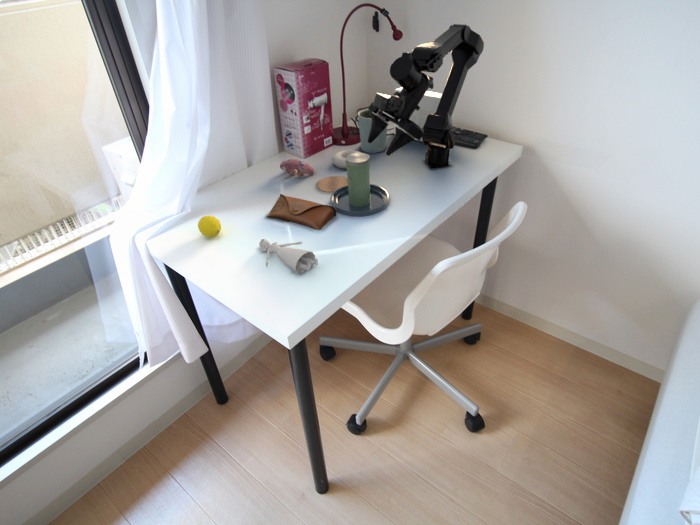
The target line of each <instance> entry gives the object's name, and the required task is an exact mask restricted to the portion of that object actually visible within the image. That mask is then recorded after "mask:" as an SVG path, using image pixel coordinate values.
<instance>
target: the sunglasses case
mask: <svg viewBox="0 0 700 525" xmlns="http://www.w3.org/2000/svg"><path fill="white" fill-rule="evenodd" d="M335 217H337V212H336V209H335V208H334V207H332V206H331V205H328V204H323V203H319V202H316V201H315V202H314V201H311V200H307V199H303V198H299V197H298V198H297V197H293V196H289V195H285V194H282V193H280V194H279V196H278V198H277V200H276V202H275V203H274V204H273V206H272V209H271V210H270V212H269V214H267V215H266V218H270V219H276V220H280V221H284V222H288V223H294V224H297V225H301V226H304V227H308V228H311V229H314V230H318V231H322V230H323V228H324V227H325V226H326V225H327V224H329V223H330V222H331V221H332V220H333V219H334V218H335Z"/></svg>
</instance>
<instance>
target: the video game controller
mask: <svg viewBox="0 0 700 525" xmlns="http://www.w3.org/2000/svg"><path fill="white" fill-rule="evenodd" d="M279 168H280V170H282V171H284V172H286V173H287V174H289V175H290V176H295V175H297V176H299V177H304V176H305V175H310V176H311V175H314V173H315V169H314V167H313V166H312V165H310V164H309V163H307V162H305V161H303V160H299V159H296V158H290V159H286V158H284V159H283V161H281V162H280V164H279Z"/></svg>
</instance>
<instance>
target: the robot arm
mask: <svg viewBox="0 0 700 525" xmlns="http://www.w3.org/2000/svg"><path fill="white" fill-rule="evenodd" d="M484 46H485V42H484V40H483V38H482V36H481V34H479V33H478V32H475V31H474V30H472V28H471V26H470V25H467V24H465V23H464V24H462V23H453V24H450V26H449V27H448V29H446V30H445V31H444V32H443V33H442V34H440V35H439V36H438V37H436V38H435V39H433V41H430V42H427V43H421V44H419V45H417V46H415V47H414V48H413V49H412V51H411V52H405V51H404V52H402V54H401V56H400V57H398V58H396V59H395V60H394V61H393V62H392V63H391V65H390V68H389V75H390V77H391V78H392V79H393V80H394V81H395V83H397V85H399V86H400V88H401V87H402V90H401V91H400V93H399V92H397V91H396V92H395V91H394V93H393V94H392V95H390V94H385V93H380V92H376V93H375V96H374V99H373V102H371V103H370V105H369V107H368V108H367V109H369V110H370V111H372V113H371V112H370V115H371V118H372V125H371V129H370V133H369V137H368V142H369V143H372V142H373V141H374V140H375V139H376V138H377V137H378V135H379V134H380V133H381V132H382V131H383V130H384V129H385V128H386V127H387V128H388V126H389V122H392V123H393V124H394V123H395V124H397V125H398V126H399V127H400V128H401V129H399V128H397V127H396V134H394V137H393V138H392V140H391V141H390V144H389V145H388V147H387V149H386V151H385V155H386V156H388V157H389V156H391V155H393V153H395V152H397V151H398V150H400V149H402V148H403V147H405V146H407V145H408V144H410V143H412V142H414V143H415V142H416V141H418V140H419V142H421V141H420V139H421V138H422V140H423V142H422V145H423V146H427V148H426V149H425V155H424V156H425V157H424V163H426V165H427V166H428V167H429V168H430V169H431V170H434V169H440V168H441V169H442V168H448V167H451V165H452V164H451V163H450V153H451V152H450V151H451V149H454V147H455V144H456V139H457V137H456V136H455V134H454V133H453V130H454V125H453V124H454V123H453V119H452V116H453V113H454V112H455V111H454V110H455V108H456V105H457V102H458V99H459V96H460V94H461V91H462V88H463V86H464V82H465V80H466V77H467V75H468V72H469V70H470V69H471V68H472V67H473V66H474V65H476V64H477V63H478V60H479V59H480V56H481V55H482V53H483V51H484ZM448 54H450V55H451V59H452V66H451V68H450V70H449V75H448V76H447V78H446V82H445V85H444V87H443V90H442V93H441V94H442V96H441V99H440V102H439V104H438V107H437V110H436V112H434V113H433V114H429V115H428V116H427V119H426V122H425V124H424V126H423V129H422V128H421V127H419V126H418V125H417V124H416V123H414V122H413V121H411V120H409V118H410V117H411V115H412V114H413V112H414V110H417V111H418V110H419V109H420V107H419V106H418V104H419V102H420V101H421V99H422V98H423V96H424V95H425V93H426V91H429V89H431V90H433V89H434V86H435V85H434V77H433V76H430V75H428V74H426V73H431V74H433V73H434V74H435V73H437V72H438V71H439V69H440V68H441V67H442V66H443V64H444V58H445V57H446V56H447V55H448ZM399 119H400V121H398V120H399ZM384 121H386V122H388V124H387V123H386V122H384ZM414 138H416V139H417V140H415V139H414Z"/></svg>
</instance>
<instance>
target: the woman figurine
mask: <svg viewBox="0 0 700 525" xmlns="http://www.w3.org/2000/svg"><path fill="white" fill-rule="evenodd" d="M302 244H303V241H297V242H288V243H281V244H280V243H279V244H278V241H277V242H276V241H274V242H272V243H270V241H269V240H267V239H266V238H261V239H260V241H259V243H258V245H259V248H260V249H261V251H263V252H265V253H266V260H265V268H268V264H269V259H270V256H271V255H270V254H277V257H278V258H279V260H280V261H281V262H283V263H284V264H285V265H286V266H287V267H289V268H290V269H291V270H292V271H294V272H295V273H296V274H298V275H300V274H301V275H303V273H305V272H306V271H307V270H308V271H311V268H312V267H313V265H316V266H318V265H319V263H318V259H317V258H316V254H315V253H314V252H313V251H312V250H311V251H310V250H305V249H301V248H295V247H294V248H293V247H291V246H296V245H297V246H298V245H299V246H300V245H302Z"/></svg>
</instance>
